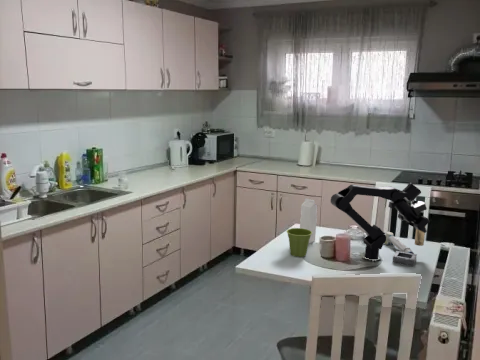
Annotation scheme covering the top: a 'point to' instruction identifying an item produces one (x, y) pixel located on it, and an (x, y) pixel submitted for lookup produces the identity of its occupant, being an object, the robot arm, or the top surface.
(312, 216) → the milk
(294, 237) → the plant pot
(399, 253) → the collar
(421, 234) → the disc
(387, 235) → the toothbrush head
